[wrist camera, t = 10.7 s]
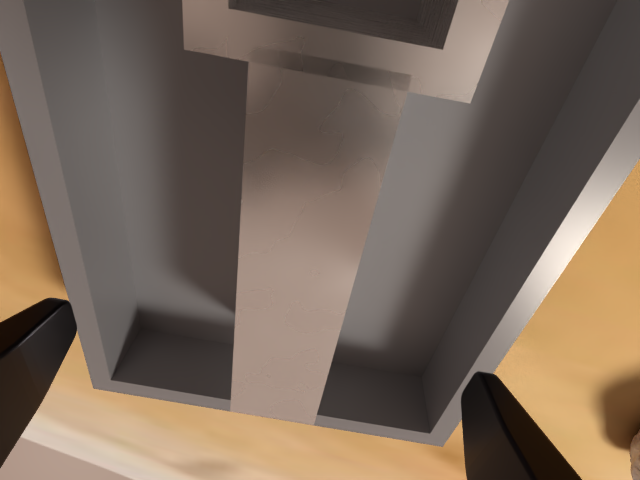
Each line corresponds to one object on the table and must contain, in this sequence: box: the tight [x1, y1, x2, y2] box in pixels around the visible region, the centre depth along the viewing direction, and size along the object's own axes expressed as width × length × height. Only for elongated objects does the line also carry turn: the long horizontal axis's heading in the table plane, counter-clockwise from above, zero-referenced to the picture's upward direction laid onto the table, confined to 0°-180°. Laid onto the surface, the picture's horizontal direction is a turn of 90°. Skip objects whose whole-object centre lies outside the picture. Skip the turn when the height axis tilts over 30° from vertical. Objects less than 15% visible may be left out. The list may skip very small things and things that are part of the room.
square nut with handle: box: [182, 0, 509, 425], centre depth 11 cm, size 17×5×4 cm, turn 171°
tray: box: [0, 0, 640, 447], centre depth 12 cm, size 22×15×4 cm
